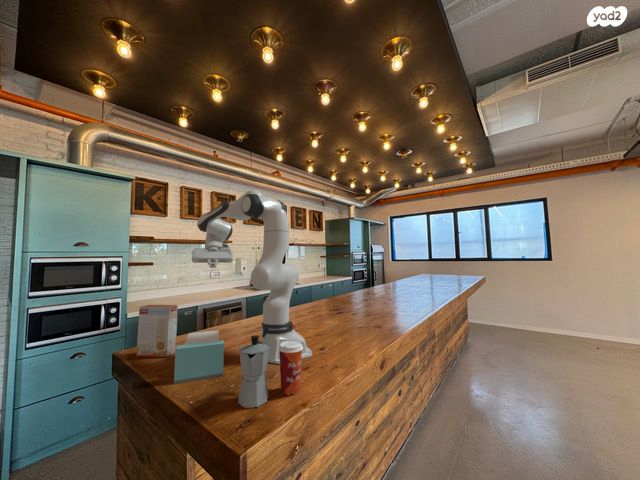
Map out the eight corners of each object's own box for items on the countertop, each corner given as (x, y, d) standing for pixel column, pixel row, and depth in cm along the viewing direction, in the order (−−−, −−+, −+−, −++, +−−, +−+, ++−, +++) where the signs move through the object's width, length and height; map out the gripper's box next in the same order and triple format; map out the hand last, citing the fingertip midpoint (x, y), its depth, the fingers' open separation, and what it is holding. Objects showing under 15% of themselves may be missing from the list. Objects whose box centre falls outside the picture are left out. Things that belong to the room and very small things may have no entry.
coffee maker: (265, 412, 66) (267, 342, 67) (231, 414, 65) (233, 343, 67) (272, 385, 80) (273, 328, 82) (244, 386, 80) (246, 328, 81)
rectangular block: (220, 342, 123) (221, 320, 124) (223, 375, 87) (224, 343, 88) (186, 346, 117) (187, 323, 118) (173, 383, 81) (175, 349, 82)
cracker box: (176, 352, 110) (178, 304, 112) (166, 358, 104) (169, 306, 106) (146, 351, 111) (149, 304, 113) (135, 356, 105) (138, 306, 107)
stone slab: (218, 339, 112) (218, 330, 113) (218, 356, 92) (219, 345, 92) (188, 342, 108) (188, 333, 108) (181, 361, 87) (182, 349, 88)
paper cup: (292, 400, 72) (292, 349, 73) (272, 392, 76) (273, 345, 77) (308, 388, 78) (308, 342, 79) (288, 382, 82) (289, 338, 83)
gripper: (192, 244, 132) (189, 262, 122) (233, 245, 140) (233, 262, 130) (192, 252, 136) (190, 271, 126) (232, 253, 144) (232, 270, 134)
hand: (212, 266), depth 128 cm, fingers closed
